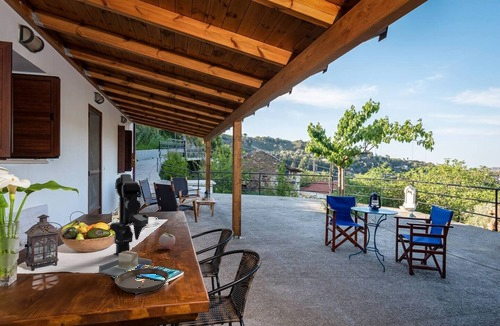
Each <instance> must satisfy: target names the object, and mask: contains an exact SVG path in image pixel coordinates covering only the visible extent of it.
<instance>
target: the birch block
mask: <svg viewBox="0 0 500 326" xmlns="http://www.w3.org/2000/svg"><path fill="white" fill-rule="evenodd" d="M138 258H139V252H135V251H131V250H130V251H124V252H122V253H119V255H118V259H119V260H118V266H119V267H124V268H129V269H130V268H133V267H135V266H138Z"/></svg>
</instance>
